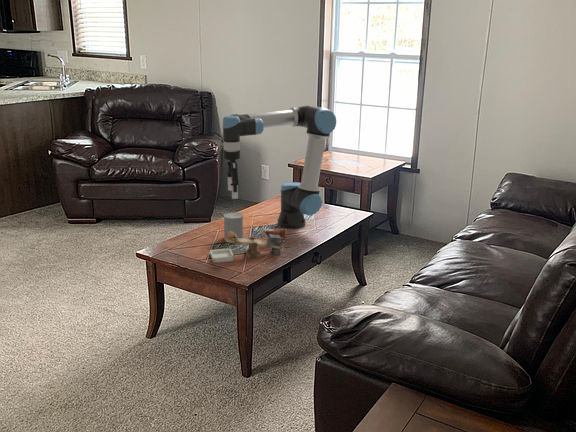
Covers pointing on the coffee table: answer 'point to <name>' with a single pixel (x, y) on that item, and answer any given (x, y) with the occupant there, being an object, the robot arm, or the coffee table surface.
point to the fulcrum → (253, 250)
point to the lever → (272, 241)
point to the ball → (230, 234)
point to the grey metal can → (233, 224)
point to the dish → (222, 255)
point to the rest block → (276, 251)
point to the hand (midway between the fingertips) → (232, 194)
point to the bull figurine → (274, 233)
